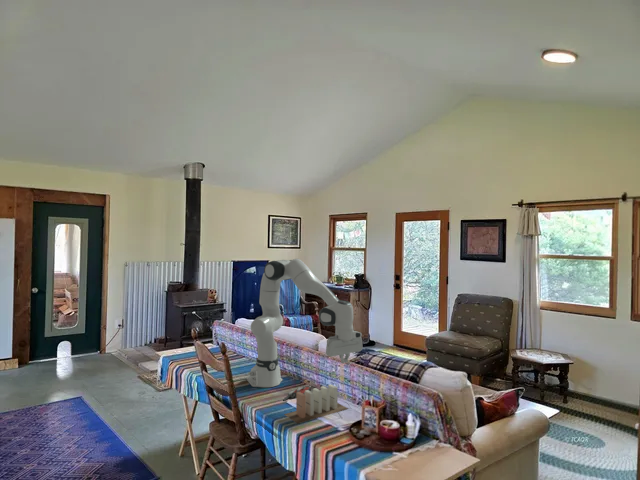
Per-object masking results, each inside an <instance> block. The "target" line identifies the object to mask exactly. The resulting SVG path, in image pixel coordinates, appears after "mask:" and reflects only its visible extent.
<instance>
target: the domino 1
mask: <svg viewBox="0 0 640 480" xmlns="http://www.w3.org/2000/svg"><path fill="white" fill-rule="evenodd" d="M295 400H296V404H295V405H296V410H295V411H296V415H298V416H300V417H301V418H305V417H306V395H304V394H303V393H301V392H297V393H296V398H295Z"/></svg>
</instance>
